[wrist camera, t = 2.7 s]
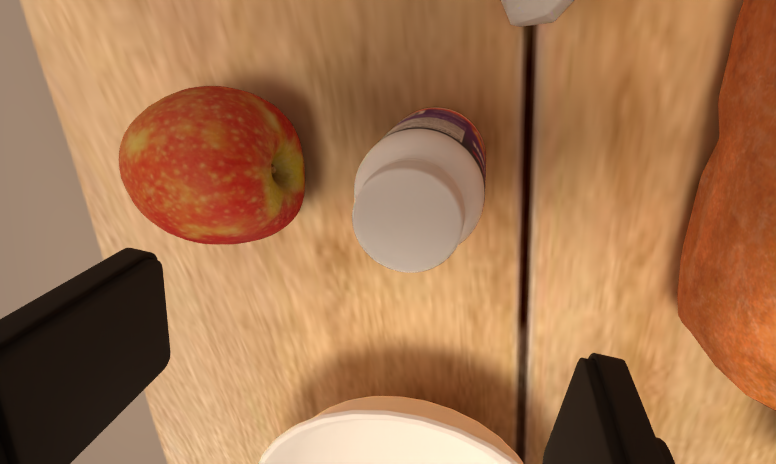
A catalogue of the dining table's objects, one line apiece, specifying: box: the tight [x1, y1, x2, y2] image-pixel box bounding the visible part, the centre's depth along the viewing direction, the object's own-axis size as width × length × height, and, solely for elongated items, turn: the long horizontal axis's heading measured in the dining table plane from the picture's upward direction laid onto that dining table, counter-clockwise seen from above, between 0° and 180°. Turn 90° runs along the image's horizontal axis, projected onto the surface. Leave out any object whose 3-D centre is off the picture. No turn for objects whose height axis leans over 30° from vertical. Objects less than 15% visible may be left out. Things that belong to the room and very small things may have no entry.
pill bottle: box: [352, 107, 486, 272], centre depth 20 cm, size 5×5×10 cm
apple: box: [119, 86, 305, 244], centre depth 23 cm, size 8×8×8 cm
